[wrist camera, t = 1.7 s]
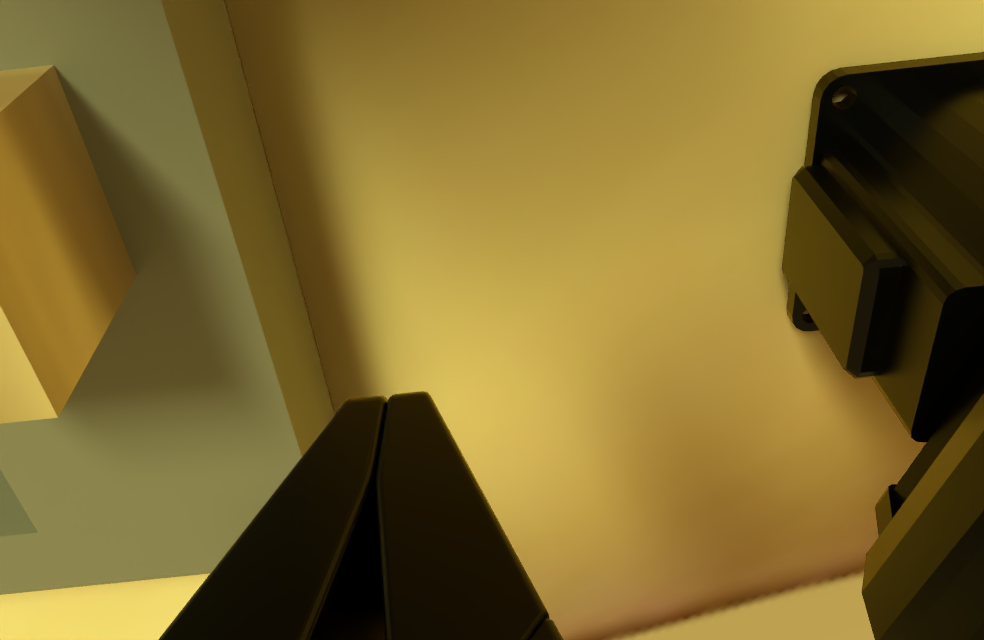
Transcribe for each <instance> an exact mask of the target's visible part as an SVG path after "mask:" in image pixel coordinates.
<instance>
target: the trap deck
mask: <svg viewBox="0 0 984 640" xmlns="http://www.w3.org/2000/svg"><path fill="white" fill-rule="evenodd" d="M49 65H54V68H55V70H56V73H57V75H58V78H59V80H60V83H61V85H62V88H63V91H64V93H65V96H66V98H67V101H68V103H69V106H70V108H71V111H72V113H73V116H74V118H75V121H76V123H77V126H78V128H79V131H80V134H81V136H82V139H83V141H84V144H85V146H86V149H87V151H88V154H89V156H90V159H91V161H92V164H93V166H94V169H95V172H96V174H97V177H98V179H99V182H100V184H101V187H102V189H103V192H104V194H105V197H106V199H107V202H108V204H109V207H110V209H111V212H112V215H113V217H114V220H115V222H116V225H117V227H118V230H119V232H120V235H121V237H122V240H123V242H124V245H125V247H126V250H127V253H128V255H129V258H130V260H131V263H132V265H133V268H134V270H135V273H136V277H135V279H134V281H133V283H132V284H131V286H130V288H129V290H128V292H127V294H126V295H125V297H124V299H123V301H122V303H121V304H120V306H119V308H118V310H117V312H116V313H115V315H114V317H113V319H112V321H111V323H110V324H109V326H108V328H107V330H106V332H105V333H104V335H103V337H102V339H101V341H100V342H99V344H98V346H97V348H96V350H95V352H94V353H93V355H92V357H91V359H90V361H89V362H88V364H87V366H86V368H85V370H84V371H83V373H82V375H81V377H80V379H79V381H78V382H77V384H76V386H75V388H74V390H73V391H72V393H71V395H70V397H69V399H68V400H67V402H66V404H65V406H64V408H63V410H62V411H61V413H60V415H59V417H58V418H49V419H40V420H30V421H21V422H11V423H1V424H0V595H1V594H11V593H21V592H31V591H41V590H51V589H60V588H70V587H80V586H90V585H100V584H110V583H119V582H129V581H139V580H149V579H159V578H169V577H178V576H188V575H198V574H208V573H211V572H212V571H213V570H214V568H215V567H216V566H217V565H218V563H219V562H220V561H221V559H222V558H223V557H224V556H225V554H226V553H227V552H228V551H229V549H230V548H231V547H232V545H233V544H234V543H235V542H236V540H237V539H238V538H239V537H240V535H241V534H242V533H243V531H244V530H245V529H246V528H247V526H248V525H249V524H250V523H251V521H252V520H253V519H254V517H255V516H256V515H257V514H258V512H259V511H260V510H261V509H262V507H263V506H264V505H265V503H266V502H267V501H268V500H269V498H270V497H271V496H272V495H273V493H274V492H275V491H276V489H277V488H278V487H279V486H280V484H281V483H282V482H283V481H284V479H285V478H286V477H287V475H288V474H289V473H290V472H291V470H292V469H293V468H294V466H295V465H296V464H297V463H298V461H299V460H300V459H301V458H302V456H303V455H304V454H305V452H306V451H307V450H308V449H309V447H310V446H311V445H312V444H313V442H314V441H315V440H316V438H317V437H318V436H319V435H320V433H321V432H322V431H323V430H324V428H325V427H326V426H327V424H328V423H329V422H330V421H331V419H332V418H333V417H334V416H335V413H334V410H333V406H332V402H331V398H330V395H329V391H328V387H327V383H326V380H325V376H324V372H323V368H322V365H321V361H320V357H319V353H318V350H317V346H316V342H315V338H314V335H313V331H312V327H311V323H310V320H309V316H308V312H307V308H306V305H305V301H304V297H303V293H302V290H301V286H300V282H299V278H298V275H297V271H296V267H295V263H294V260H293V256H292V252H291V248H290V245H289V241H288V237H287V234H286V230H285V226H284V222H283V219H282V215H281V211H280V207H279V204H278V200H277V196H276V192H275V189H274V185H273V181H272V177H271V174H270V170H269V166H268V162H267V159H266V155H265V151H264V147H263V144H262V140H261V136H260V132H259V129H258V125H257V121H256V117H255V114H254V110H253V106H252V102H251V99H250V95H249V91H248V87H247V84H246V80H245V76H244V72H243V69H242V65H241V61H240V57H239V54H238V50H237V46H236V42H235V39H234V35H233V31H232V28H231V24H230V20H229V16H228V13H227V9H226V5H225V1H224V0H0V71H4V70H13V69H22V68H31V67H40V66H49Z"/></svg>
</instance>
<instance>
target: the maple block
mask: <svg viewBox="0 0 984 640" xmlns="http://www.w3.org/2000/svg"><path fill="white" fill-rule="evenodd" d="M135 277H136V273H135V270H134V268H133V265H132V263H131V260H130V258H129V255H128V253H127V250H126V247H125V245H124V242H123V240H122V237H121V235H120V232H119V230H118V227H117V225H116V222H115V220H114V217H113V215H112V212H111V209H110V207H109V204H108V202H107V199H106V197H105V194H104V192H103V189H102V187H101V184H100V182H99V179H98V177H97V174H96V172H95V169H94V166H93V164H92V161H91V159H90V156H89V154H88V151H87V149H86V146H85V144H84V141H83V139H82V136H81V134H80V131H79V128H78V126H77V123H76V121H75V118H74V116H73V113H72V111H71V108H70V106H69V103H68V101H67V98H66V96H65V93H64V91H63V88H62V85H61V83H60V80H59V78H58V75H57V73H56V70H55V68H54V65H49V66H40V67H31V68H22V69H13V70H4V71H0V424H1V423H11V422H21V421H30V420H40V419H49V418H58V417H59V415H60V413H61V411H62V410H63V408H64V406H65V404H66V402H67V400H68V399H69V397H70V395H71V393H72V391H73V390H74V388H75V386H76V384H77V382H78V381H79V379H80V377H81V375H82V373H83V371H84V370H85V368H86V366H87V364H88V362H89V361H90V359H91V357H92V355H93V353H94V352H95V350H96V348H97V346H98V344H99V342H100V341H101V339H102V337H103V335H104V333H105V332H106V330H107V328H108V326H109V324H110V323H111V321H112V319H113V317H114V315H115V313H116V312H117V310H118V308H119V306H120V304H121V303H122V301H123V299H124V297H125V295H126V294H127V292H128V290H129V288H130V286H131V284H132V283H133V281H134V279H135Z"/></svg>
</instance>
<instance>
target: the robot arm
mask: <svg viewBox="0 0 984 640" xmlns="http://www.w3.org/2000/svg"><path fill="white" fill-rule="evenodd" d="M844 86H849V92H848V95H847V96H846V97H845V98H844V99H843V100H842V101H840V102H837V103H832V98H833V95H834V93H835V92H836V91H837V90H838V89H839V88H841V87H844ZM782 270H783V272H784V274H785V275H786V277H787V279H788V280H789V282H790V286H789V294H788V302H787V314H788V316H789V317H790V319H791V321H792V322H793V324H794V325H795V327H796V328H798V329H800V330H802V331H817V330H820V332H821V333H822V335H823V337H824V338H825V340H826V342H827V343H828V345H829V346H830V348H831V350H832V351H833V353H834V354H835V356H836V358H837V359H838V361H839V362H840V364H841V366H842V367H843V369H844V370H846V371H847V372H848V373H849V374H850V375H852V376H853V377H854V378H864V377H872V378H873V380H874V381H875V383H876V384H877V386H878V387H879V389H880V390H881V392H882V393H883V395H884V396H885V398H886V399H887V401H888V403H889V404H890V406H891V407H892V409H893V410H894V412H895V413H896V415H897V416H898V418H899V419H900V421H901V422H902V424H903V425H904V427H905V428H906V430H907V432H908V433H909V435H910V436H911V438H913V439H914V440H915V441H916V442H927V443H926V444H925V446H924V447H923V449H922V450H921V452H920V453H919V454H918V456H917V457H916V459H915V460H914V461H913V463H912V464H911V466H910V467H909V468H908V470H907V471H906V473H905V474H904V475H903V477H902V478H901V480H900V481H899V482H898V484H897V485H896V484H893V485H890V486H889V487H888V488H887V490H886V491H885V492H884V494H883V495H882V497H881V498H880V499H879V501H878V502H877V504H876V507H875V509H876V518H877V526H878V534H879V538H878V539H877V540H876V542H875V543H874V545H873V546H872V547H871V549H870V550H869V551H868V553H867V554H866V562H865V570H864V578H863V587H862V595H863V599H864V602H865V605H866V609H867V613H868V617H869V620H870V624H871V627H872V631H873V634H874V638H875V640H984V52H981V53H972V54H963V55H954V56H944V57H935V58H926V59H917V60H908V61H899V62H890V63H881V64H871V65H862V66H853V67H844V68H838V69H835V70H832V71H830V72H828V73H827V74H826V75H824V76H823V77H822V78H821V79H820V81H819V82H818V83H817V85H816V88H815V91H814V94H813V102H812V110H811V118H810V126H809V134H808V142H807V150H806V158H805V166H802V167H801V168H800V169H799V171H798V172H797V173H796V174H795V176H794V177H793V179H792V187H791V195H790V204H789V212H788V221H787V229H786V238H785V246H784V255H783V263H782ZM806 309H807V311H808V312H809V313H808V314H803V312H804V311H805V310H806ZM159 640H563V638H562V637H561V635H560V633H559V631H558V629H557V627H556V626H555V624H554V622H553V621H552V620H550V619H549V614H548V612H547V610H546V608H545V606H544V604H543V603H542V601H541V599H540V597H539V595H538V593H537V591H536V590H535V588H534V586H533V584H532V582H531V580H530V579H529V577H528V575H527V573H526V571H525V569H524V567H523V566H522V564H521V562H520V560H519V558H518V556H517V555H516V553H515V551H514V549H513V547H512V545H511V543H510V542H509V540H508V538H507V536H506V534H505V532H504V531H503V529H502V527H501V525H500V523H499V521H498V519H497V518H496V516H495V514H494V512H493V510H492V508H491V507H490V505H489V503H488V501H487V499H486V497H485V495H484V494H483V492H482V490H481V488H480V486H479V484H478V483H477V481H476V479H475V477H474V475H473V473H472V471H471V470H470V468H469V466H468V464H467V462H466V460H465V459H464V457H463V455H462V453H461V451H460V449H459V447H458V446H457V444H456V442H455V440H454V438H453V436H452V435H451V433H450V431H449V429H448V427H447V425H446V423H445V422H444V420H443V418H442V416H441V414H440V412H439V411H438V409H437V407H436V405H435V403H434V401H433V399H432V398H431V396H430V395H429V394H428V393H427V392H423V391H421V392H412V393H402V394H394V395H392V396H391V397H390V398H389V400H387V399H386V398H385V397H384V396H374V397H364V398H354V399H350V400H348V401H347V402H345V403H344V404H343V405H342V407H341V408H340V409H339V410H338V412H337V413H336V414H335V416H334V417H333V418H332V419H331V421H330V422H329V423H328V424H327V426H326V427H325V428H324V430H323V431H322V432H321V433H320V435H319V436H318V437H317V438H316V440H315V441H314V442H313V444H312V445H311V446H310V447H309V449H308V450H307V451H306V452H305V454H304V455H303V456H302V458H301V459H300V460H299V461H298V463H297V464H296V465H295V466H294V468H293V469H292V470H291V472H290V473H289V474H288V475H287V477H286V478H285V479H284V481H283V482H282V483H281V484H280V486H279V487H278V488H277V489H276V491H275V492H274V493H273V495H272V496H271V497H270V498H269V500H268V501H267V502H266V503H265V505H264V506H263V507H262V509H261V510H260V511H259V512H258V514H257V515H256V516H255V517H254V519H253V520H252V521H251V523H250V524H249V525H248V526H247V528H246V529H245V530H244V531H243V533H242V534H241V535H240V537H239V538H238V539H237V540H236V542H235V543H234V544H233V545H232V547H231V548H230V549H229V551H228V552H227V553H226V554H225V556H224V557H223V558H222V559H221V561H220V562H219V563H218V565H217V566H216V567H215V568H214V570H213V571H212V572H211V573H210V575H209V576H208V577H207V579H206V580H205V581H204V582H203V584H202V585H201V586H200V587H199V589H198V590H197V591H196V593H195V594H194V595H193V596H192V598H191V599H190V600H189V601H188V603H187V604H186V605H185V607H184V608H183V609H182V610H181V612H180V613H179V614H178V615H177V617H176V618H175V619H174V621H173V622H172V623H171V624H170V626H169V627H168V628H167V629H166V631H165V632H164V633H163V635H162V636H161V637H160V638H159Z"/></svg>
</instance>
